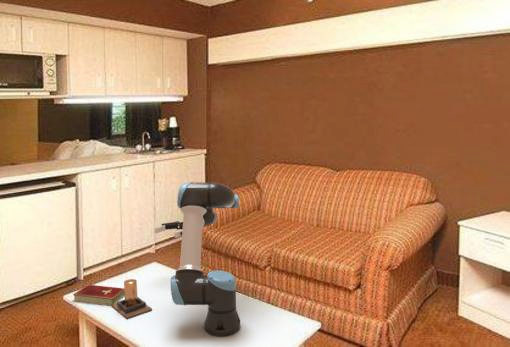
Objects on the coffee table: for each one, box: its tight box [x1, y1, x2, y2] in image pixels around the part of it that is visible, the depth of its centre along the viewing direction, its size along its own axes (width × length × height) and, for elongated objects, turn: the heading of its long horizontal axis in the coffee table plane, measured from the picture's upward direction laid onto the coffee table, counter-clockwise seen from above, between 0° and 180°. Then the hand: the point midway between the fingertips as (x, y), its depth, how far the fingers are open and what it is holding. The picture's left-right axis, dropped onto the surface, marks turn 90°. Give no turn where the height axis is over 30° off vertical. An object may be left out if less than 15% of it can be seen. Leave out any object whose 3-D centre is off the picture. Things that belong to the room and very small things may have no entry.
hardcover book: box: [72, 284, 125, 306], centre depth 206 cm, size 12×21×4 cm, turn 76°
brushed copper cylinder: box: [123, 278, 139, 308], centre depth 194 cm, size 6×6×12 cm
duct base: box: [111, 296, 153, 320], centre depth 195 cm, size 16×12×3 cm
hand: (164, 233), depth 209 cm, fingers open, 13 cm apart
